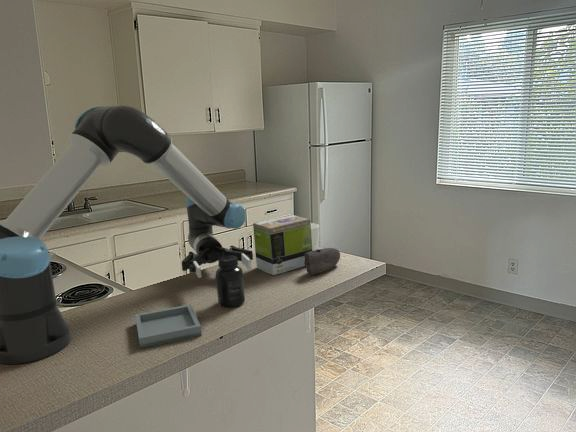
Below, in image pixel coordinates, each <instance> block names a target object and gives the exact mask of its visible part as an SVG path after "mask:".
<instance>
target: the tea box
mask: <svg viewBox="0 0 576 432" xmlns="http://www.w3.org/2000/svg"><path fill="white" fill-rule="evenodd" d="M311 223H312V222H311V219H309V218H306V217H302V216H298V215H293V214H290V215H289V214H288V215H285V216H281V217H276V218H271V219H267V220H262V221H257V222H253V223H252V227H253V228H252V229H253V238H254V239H253V240H254V252H255V253H254V254H255V262H256V267H257V269H259V270H261V271H263V272H265V273H267V274H269V275H272V276H276V275H279V274H283V273H287V272H290V271H293V270H296V269H301V268H303V267H306V266H305V264H304V263H305V256H304V254H305V253H307V252H310V251H312V238H311Z"/></svg>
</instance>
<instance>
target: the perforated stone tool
mask: <svg viewBox="0 0 576 432" xmlns="http://www.w3.org/2000/svg"><path fill="white" fill-rule="evenodd" d="M304 256H305V263H304V264H305V266H304V267H306V273H308V274H309V275H310V276H314V275H319V274H322V273H324V272H326V271H328V270H331V269H332V268H335V266H337V264H339V262H340V260H341V252H340V250H339V249H338V248H337V249H336V248H334V247H326V248H325V247H323V248H318V249H317V250H315V251H310V252H307V253H305V254H304Z"/></svg>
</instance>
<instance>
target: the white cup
mask: <svg viewBox="0 0 576 432" xmlns="http://www.w3.org/2000/svg"><path fill="white" fill-rule="evenodd" d="M310 223H311V238H312V251H315V250H317V249H319V244H320V224H318V223H314V222H310Z"/></svg>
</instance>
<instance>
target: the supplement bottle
mask: <svg viewBox="0 0 576 432" xmlns="http://www.w3.org/2000/svg"><path fill="white" fill-rule="evenodd" d="M217 262H218V269H217V270H216V271H215V281H216V282H215V283H216V291H217V292H216V293H217V302H218V305H219V307H222V308H228V309H230V308H231V309H232V308H236V307H240V306H241V305H243V304H244V303H245V301H246V297H245V294H246V293H245V284H244V283H245V282H244V274H243V271H244V270H243V268H241V267H240V266H239V261H238V259H237V257H236V256H223V257H220V258H219V259H218V261H217Z"/></svg>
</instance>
